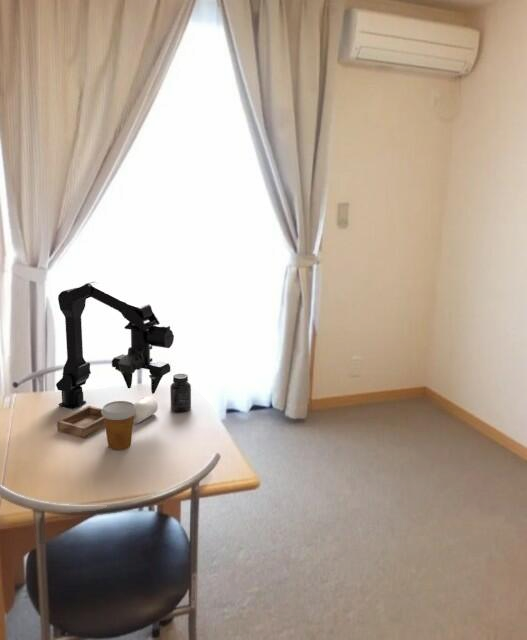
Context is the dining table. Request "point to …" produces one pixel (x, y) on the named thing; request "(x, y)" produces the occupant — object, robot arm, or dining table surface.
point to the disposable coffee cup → (119, 424)
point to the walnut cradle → (82, 422)
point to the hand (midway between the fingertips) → (141, 390)
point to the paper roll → (144, 409)
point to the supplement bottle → (180, 394)
